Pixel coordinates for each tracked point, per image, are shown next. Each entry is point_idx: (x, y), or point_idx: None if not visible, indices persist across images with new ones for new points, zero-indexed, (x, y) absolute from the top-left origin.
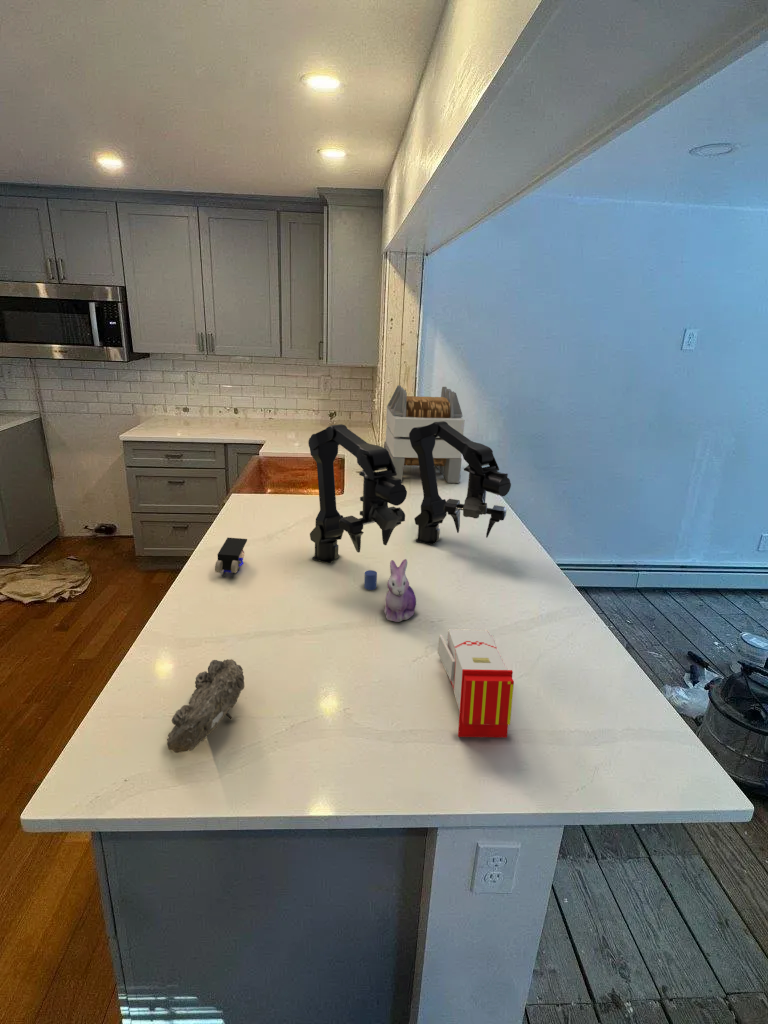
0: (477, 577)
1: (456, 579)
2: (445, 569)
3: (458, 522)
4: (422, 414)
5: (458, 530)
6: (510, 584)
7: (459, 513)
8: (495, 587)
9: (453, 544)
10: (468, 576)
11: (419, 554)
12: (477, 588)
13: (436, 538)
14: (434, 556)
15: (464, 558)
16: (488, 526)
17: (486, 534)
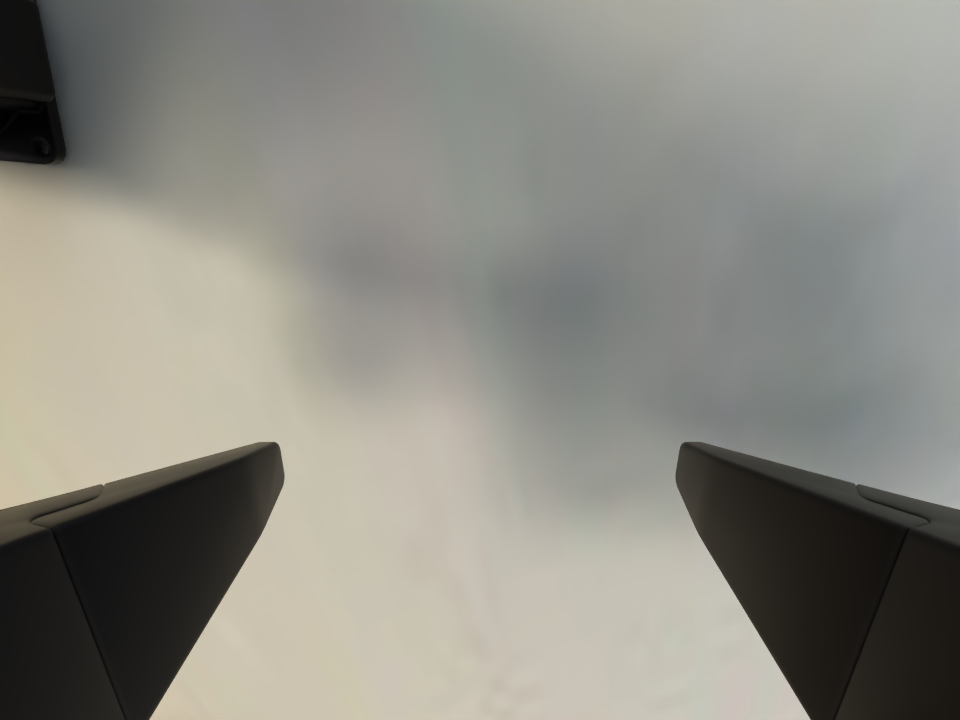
0: (578, 573)
1: (461, 634)
2: (358, 549)
3: (190, 604)
4: None
5: (270, 512)
6: None
7: (2, 641)
8: (693, 640)
9: (232, 23)
10: (522, 580)
11: (82, 401)
12: (593, 679)
13: (19, 96)
14: (201, 389)
15: (432, 328)
16: (788, 675)
17: (695, 522)
